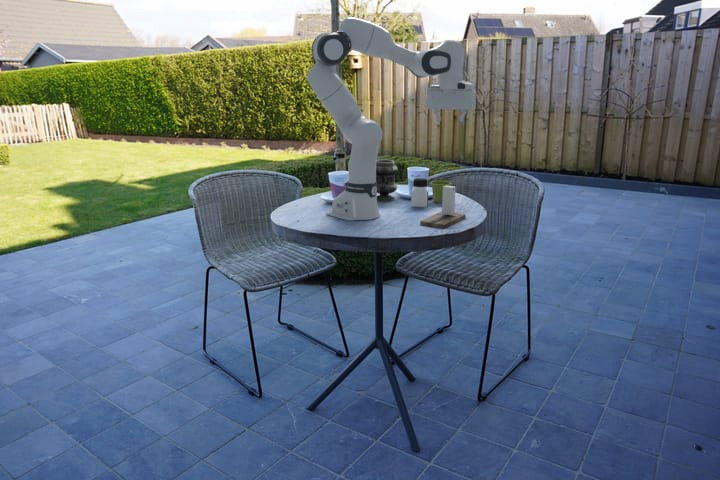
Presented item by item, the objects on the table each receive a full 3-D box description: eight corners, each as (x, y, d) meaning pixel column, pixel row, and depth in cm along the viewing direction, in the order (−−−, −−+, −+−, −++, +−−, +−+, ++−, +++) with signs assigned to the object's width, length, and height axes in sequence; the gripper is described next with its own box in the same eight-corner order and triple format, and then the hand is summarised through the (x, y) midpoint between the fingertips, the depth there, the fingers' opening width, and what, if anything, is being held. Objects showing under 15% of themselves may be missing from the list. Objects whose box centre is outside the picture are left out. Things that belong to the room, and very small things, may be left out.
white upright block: (441, 213, 197) (442, 186, 194) (445, 212, 200) (446, 185, 196) (451, 215, 195) (452, 187, 192) (454, 213, 197) (455, 186, 194)
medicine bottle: (427, 207, 217) (428, 180, 214) (411, 206, 219) (411, 179, 215) (428, 203, 224) (428, 177, 221) (412, 203, 225) (412, 176, 222)
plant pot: (450, 204, 223) (451, 184, 221) (429, 203, 225) (429, 184, 222) (450, 199, 232) (451, 181, 229) (430, 198, 234) (431, 180, 231)
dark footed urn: (397, 201, 228) (397, 162, 222) (370, 201, 229) (370, 162, 223) (397, 196, 239) (397, 158, 234) (372, 196, 240) (372, 158, 235)
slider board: (420, 224, 190) (420, 220, 190) (442, 214, 205) (442, 210, 205) (444, 228, 185) (444, 224, 184) (465, 217, 200) (465, 213, 199)
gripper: (423, 85, 197) (422, 121, 201) (471, 84, 186) (469, 122, 190) (430, 85, 202) (429, 120, 206) (478, 84, 191) (476, 121, 195)
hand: (449, 121), depth 198 cm, fingers open, 8 cm apart
